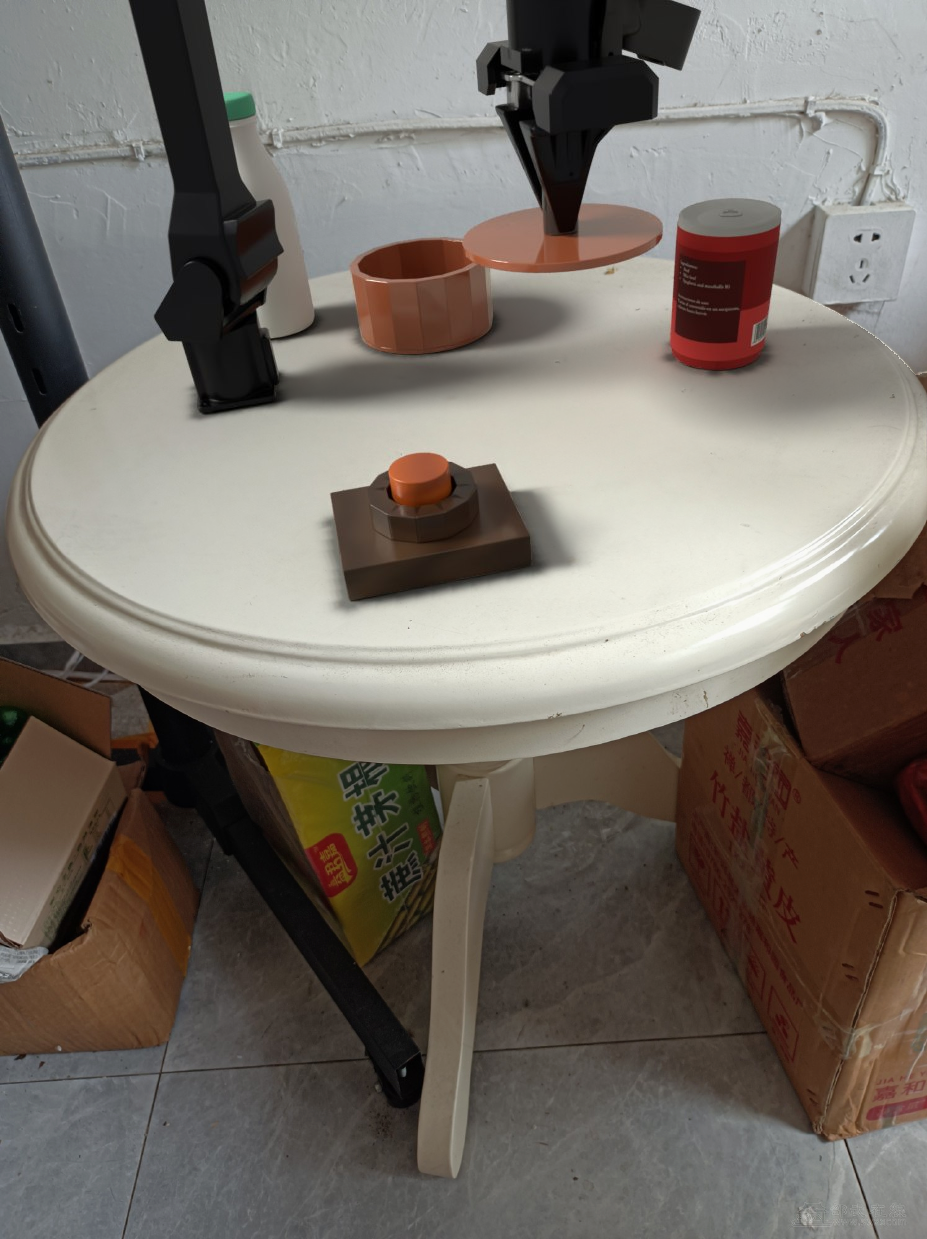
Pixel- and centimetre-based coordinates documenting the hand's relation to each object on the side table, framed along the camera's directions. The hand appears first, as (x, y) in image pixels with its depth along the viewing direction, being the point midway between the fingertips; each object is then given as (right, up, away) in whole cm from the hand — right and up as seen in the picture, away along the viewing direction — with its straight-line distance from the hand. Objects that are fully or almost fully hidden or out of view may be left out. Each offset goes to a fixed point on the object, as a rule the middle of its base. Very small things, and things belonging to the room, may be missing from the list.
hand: (560, 226), depth 59 cm
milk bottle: (-25, +3, +28) cm, 38 cm away
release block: (-9, -22, -4) cm, 24 cm away
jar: (-10, +1, +24) cm, 26 cm away
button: (-9, -19, -7) cm, 22 cm away
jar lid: (0, -1, +1) cm, 1 cm away
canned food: (+15, -4, +14) cm, 21 cm away
